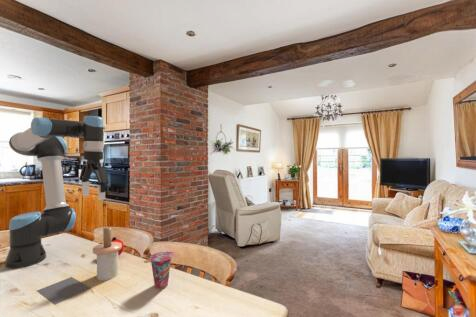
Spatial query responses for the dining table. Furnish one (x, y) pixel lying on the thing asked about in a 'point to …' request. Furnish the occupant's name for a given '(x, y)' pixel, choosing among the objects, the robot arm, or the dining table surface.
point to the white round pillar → (107, 266)
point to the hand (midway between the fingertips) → (93, 197)
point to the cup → (161, 268)
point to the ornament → (120, 242)
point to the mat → (63, 290)
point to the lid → (107, 244)
